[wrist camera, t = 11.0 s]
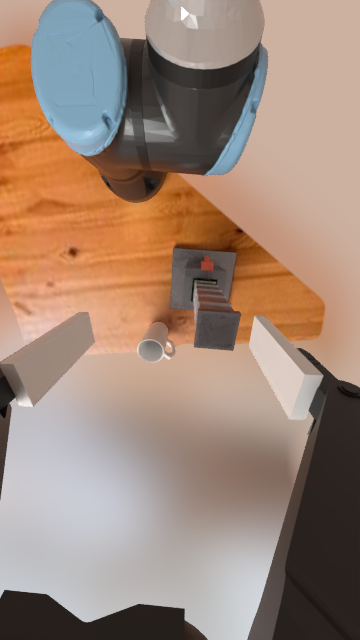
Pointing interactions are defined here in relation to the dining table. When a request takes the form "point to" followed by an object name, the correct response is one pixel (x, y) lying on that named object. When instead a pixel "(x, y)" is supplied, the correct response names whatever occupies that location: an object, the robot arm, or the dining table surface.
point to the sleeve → (199, 273)
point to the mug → (155, 343)
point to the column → (213, 317)
